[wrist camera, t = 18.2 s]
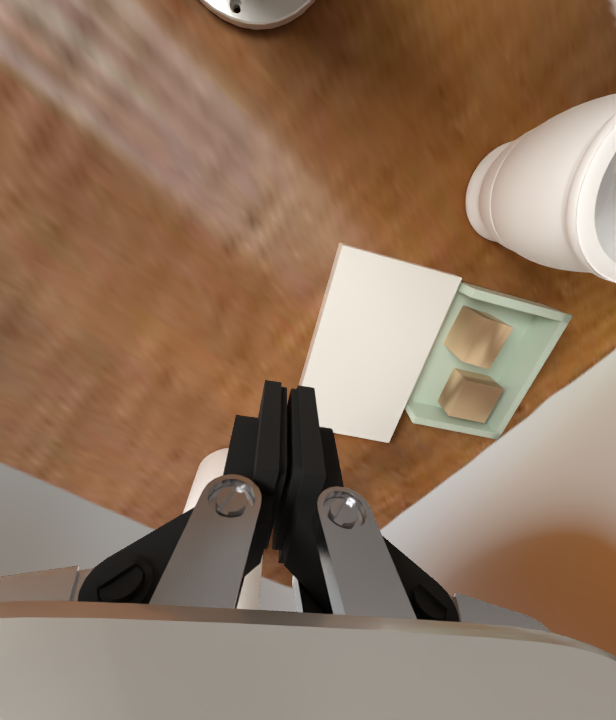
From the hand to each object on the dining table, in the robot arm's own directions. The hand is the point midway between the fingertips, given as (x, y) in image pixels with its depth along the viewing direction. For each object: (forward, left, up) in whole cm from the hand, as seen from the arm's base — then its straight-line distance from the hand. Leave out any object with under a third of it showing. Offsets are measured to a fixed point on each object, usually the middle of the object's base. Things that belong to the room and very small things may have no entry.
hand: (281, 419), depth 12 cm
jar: (-12, +18, -24) cm, 33 cm away
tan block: (+7, +23, -21) cm, 32 cm away
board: (+6, +10, -24) cm, 27 cm away
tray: (+4, +22, -24) cm, 33 cm away
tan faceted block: (0, +18, -21) cm, 28 cm away
